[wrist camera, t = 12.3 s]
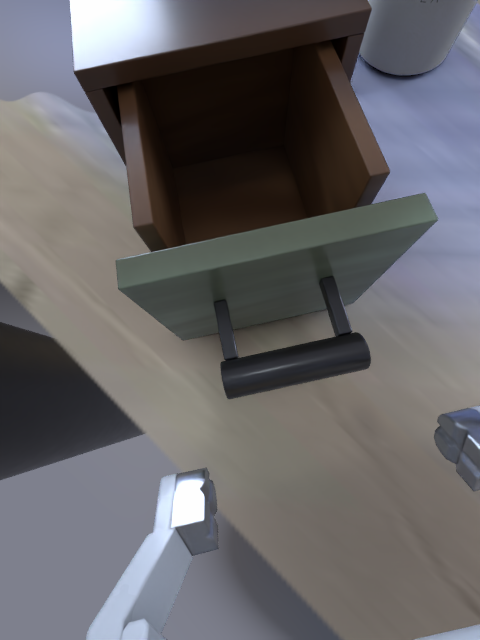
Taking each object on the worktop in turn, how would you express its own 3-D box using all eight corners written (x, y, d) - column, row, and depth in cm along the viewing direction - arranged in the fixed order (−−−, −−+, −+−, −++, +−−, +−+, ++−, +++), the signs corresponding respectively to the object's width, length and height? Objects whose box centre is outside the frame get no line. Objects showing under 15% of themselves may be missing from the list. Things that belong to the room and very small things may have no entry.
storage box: (317, 192, 22) (373, 8, 11) (159, 226, 21) (73, 71, 11) (272, 65, 26) (283, -155, 15) (139, 93, 26) (63, -109, 15)
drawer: (375, 368, 17) (497, 338, 8) (193, 408, 17) (129, 419, 8) (298, 146, 22) (325, -15, 13) (156, 176, 22) (94, 34, 13)
